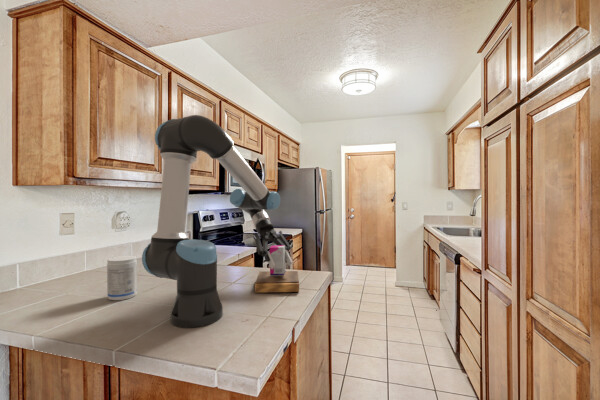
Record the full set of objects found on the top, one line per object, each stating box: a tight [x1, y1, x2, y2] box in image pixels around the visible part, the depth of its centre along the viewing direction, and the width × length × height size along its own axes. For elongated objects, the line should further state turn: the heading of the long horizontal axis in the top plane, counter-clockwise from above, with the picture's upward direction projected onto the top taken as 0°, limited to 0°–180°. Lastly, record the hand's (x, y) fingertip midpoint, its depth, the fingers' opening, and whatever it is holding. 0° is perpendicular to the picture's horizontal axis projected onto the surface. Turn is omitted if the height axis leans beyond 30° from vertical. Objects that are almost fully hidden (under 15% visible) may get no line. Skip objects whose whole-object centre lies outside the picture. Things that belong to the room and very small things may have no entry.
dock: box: [254, 270, 300, 294], centre depth 118 cm, size 17×18×4 cm
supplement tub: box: [106, 255, 138, 301], centre depth 106 cm, size 10×10×15 cm
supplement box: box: [269, 244, 287, 275], centre depth 119 cm, size 6×6×12 cm
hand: (282, 265), depth 116 cm, fingers open, 8 cm apart
